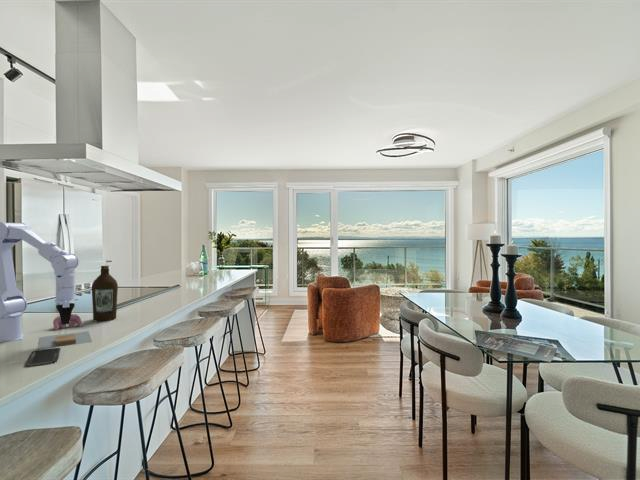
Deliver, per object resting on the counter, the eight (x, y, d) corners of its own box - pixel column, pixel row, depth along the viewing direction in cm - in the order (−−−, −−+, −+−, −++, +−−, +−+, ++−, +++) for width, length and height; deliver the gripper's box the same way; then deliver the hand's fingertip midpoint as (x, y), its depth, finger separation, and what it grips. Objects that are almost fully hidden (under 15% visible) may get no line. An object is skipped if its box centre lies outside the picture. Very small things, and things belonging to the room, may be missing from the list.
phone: (25, 364, 111) (32, 350, 124) (25, 368, 111) (32, 354, 124) (57, 360, 115) (61, 347, 128) (57, 364, 115) (61, 350, 128)
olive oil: (92, 317, 176) (92, 265, 175) (118, 315, 180) (118, 264, 180) (90, 322, 166) (90, 267, 166) (117, 320, 171) (117, 266, 170)
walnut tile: (55, 336, 137) (55, 341, 130) (74, 334, 140) (75, 339, 134) (55, 340, 137) (55, 346, 131) (74, 338, 141) (75, 343, 134)
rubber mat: (39, 338, 141) (39, 337, 141) (88, 332, 151) (88, 331, 151) (37, 350, 127) (37, 349, 127) (92, 342, 136) (92, 341, 136)
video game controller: (80, 329, 160) (78, 313, 163) (83, 326, 158) (81, 310, 160) (53, 333, 153) (51, 317, 156) (55, 330, 151) (53, 314, 153)
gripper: (79, 288, 132) (79, 326, 133) (77, 284, 144) (77, 318, 144) (55, 290, 128) (55, 329, 128) (55, 285, 140) (55, 321, 140)
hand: (65, 323), depth 136 cm, fingers closed
